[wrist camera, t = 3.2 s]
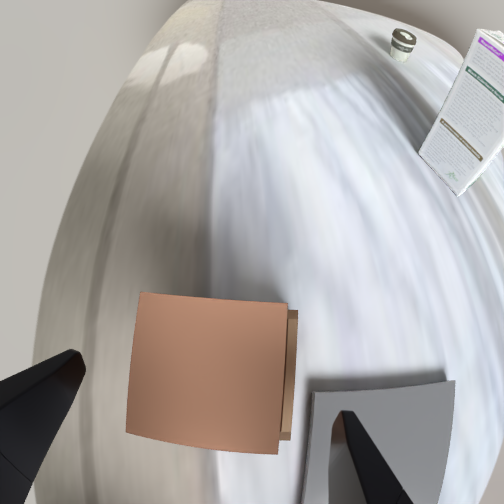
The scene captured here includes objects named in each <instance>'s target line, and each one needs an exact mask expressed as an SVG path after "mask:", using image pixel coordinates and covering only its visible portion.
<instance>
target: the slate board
mask: <svg viewBox="0 0 504 504" xmlns="http://www.w3.org/2000/svg"><path fill="white" fill-rule="evenodd" d="M454 397H455V380H451V381H442V382H436V383H429V384H422V385H414V386H405V387H396V388H385V389H372V390H355V391H322V392H312V402H311V415H310V428H309V439H308V449H307V458H306V467H305V476H304V484H303V492H302V499H301V504H328V464H329V454H330V443H331V431H332V425H333V423H334V421H335V419H336V417H337V415H338V413H339V412H340V411H341V410H352V411H354V412H355V414H356V415H357V417H358V418H359V420H360V421H361V423H362V425H363V426H364V428H365V429H366V431H367V432H368V434H369V435H370V437H371V439H372V440H373V442H374V443H375V445H376V446H377V448H378V449H379V451H380V452H381V454H382V456H383V457H384V459H385V460H386V462H387V463H388V465H389V466H390V468H391V470H392V471H393V473H394V474H395V476H396V477H397V479H398V480H399V482H400V483H401V485H402V487H403V489H404V490H405V491H406V493H407V494H408V496H409V497H410V499H411V500H412V502H413V503H414V504H437V503H438V500H439V496H440V492H441V488H442V483H443V479H444V474H445V469H446V464H447V458H448V452H449V446H450V438H451V431H452V422H453V411H454Z"/></svg>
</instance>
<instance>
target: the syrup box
mask: <svg viewBox="0 0 504 504" xmlns="http://www.w3.org/2000/svg"><path fill="white" fill-rule="evenodd" d="M503 147H504V34H503V33H502V32H500V31H499V30H497V31H490V30H483V29H477V30H476V33H475V36H474V38H473V41H472V43H471V46H470V48H469V50H468V53H467V55H466V57H465V60H464V62H463V64H462V66H461V68H460V71H459V73H458V75H457V77H456V79H455V81H454V83H453V86H452V88H451V90H450V92H449V94H448V96H447V98H446V100H445V102H444V104H443V106H442V108H441V110H440V112H439V114H438V116H437V118H436V120H435V122H434V124H433V126H432V127H431V129H430V131H429V133H428V135H427V137H426V139H425V140H424V142H423V144H422V146H421V148H420V149H419V152H418V153H419V155H420V156H421V157H422V158H423V159H424V161H425V162H426V163H427V164H428V165H429V166H430V167H431V168H432V169H433V170H434V171H435V173H436V174H437V175H438V176H439V177H440V178H441V179H442V180H443V181H444V182H445V183H446V184H447V186H448V187H449V188H450V189H451V190H452V191H453V192H454V193H455V194H456V196H460V195H461V194H462V193H463V192H465V191H466V190H467V189H468V188H469V187H470V186H471V185H472V184H473V183H474V182H475V181H476V180H477V179H478V178H479V177H480V176H481V174H482V173H483V172H484V171H485V170H486V168H487V167H488V166H489V165H490V163H491V162H492V161H493V160H494V158H495V157H496V156H497V155H498V153H499V152H500V151H501V150H502V148H503Z"/></svg>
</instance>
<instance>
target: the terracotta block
mask: <svg viewBox="0 0 504 504" xmlns="http://www.w3.org/2000/svg"><path fill="white" fill-rule="evenodd" d="M287 307H288V303H274V302H256V301H240V300H226V299H213V298H200V297H189V296H178V295H167V294H157V293H147V292H140V297H139V303H138V310H137V316H136V323H135V331H134V338H133V346H132V355H131V364H130V375H129V386H128V399H127V416H126V432H127V433H130V434H134V435H138V436H142V437H146V438H151V439H155V440H160V441H164V442H169V443H174V444H180V445H186V446H192V447H198V448H205V449H212V450H221V451H230V452H241V453H254V454H277V455H278V446H279V435H280V423H281V410H282V396H283V382H284V366H285V348H286V329H287Z"/></svg>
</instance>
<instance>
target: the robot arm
mask: <svg viewBox="0 0 504 504" xmlns="http://www.w3.org/2000/svg"><path fill="white" fill-rule="evenodd" d="M85 372H86V366H85V364H84V361H83V358H82V355H81V353H80V352H79V351H76V350H74V349H69V350H67V351H64V352H62V353H60V354H58V355H56V356H54V357H52V358H49V359H47V360H45V361H43V362H41V363H39V364H36V365H34V366H32V367H30V368H28V369H26V370H24V371H21V372H19V373H17V374H15V375H13V376H11V377H8V378H6V379H4V380H2V381H0V504H24V502H25V499H26V497H27V495H28V493H29V490H30V488H31V486H32V483H33V481H34V479H35V477H36V475H37V472H38V470H39V468H40V466H41V464H42V462H43V460H44V458H45V456H46V454H47V452H48V450H49V448H50V446H51V444H52V442H53V440H54V438H55V436H56V434H57V432H58V430H59V428H60V426H61V424H62V422H63V420H64V419H65V417H66V415H67V413H68V411H69V409H70V407H71V405H72V403H73V401H74V399H75V396H76V394H77V391H78V389H79V387H80V384H81V382H82V380H83V377H84V375H85ZM328 504H414V503H413V502H412V500H411V499H410V497H409V496H408V494H407V493H406V491H405V490H404V489H403V487H402V485H401V483H400V482H399V480H398V479H397V477H396V476H395V474H394V473H393V471H392V470H391V468H390V466H389V465H388V463H387V462H386V460H385V459H384V457H383V456H382V454H381V452H380V451H379V449H378V448H377V446H376V445H375V443H374V442H373V440H372V439H371V437H370V435H369V434H368V432H367V431H366V429H365V428H364V426H363V425H362V423H361V421H360V420H359V418H358V417H357V415H356V414H355V412H354V411H352V410H341V411H340V412H339V413H338V415H337V417H336V419H335V421H334V423H333V425H332V431H331V443H330V454H329V464H328Z"/></svg>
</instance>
